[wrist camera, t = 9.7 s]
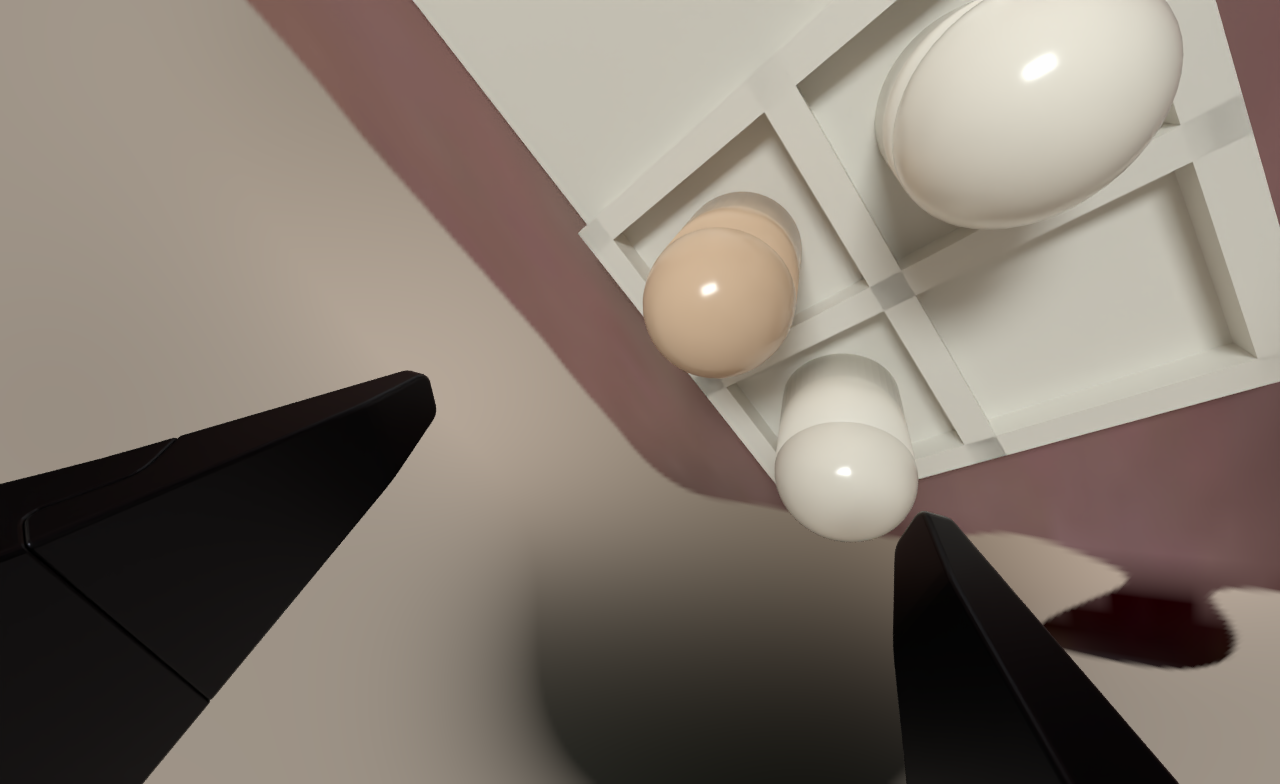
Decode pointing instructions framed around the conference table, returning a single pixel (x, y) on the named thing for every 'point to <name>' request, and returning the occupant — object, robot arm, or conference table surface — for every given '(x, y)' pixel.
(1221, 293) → the egg carton
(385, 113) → the conference table surface
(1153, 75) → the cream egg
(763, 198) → the brown egg
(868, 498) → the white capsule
